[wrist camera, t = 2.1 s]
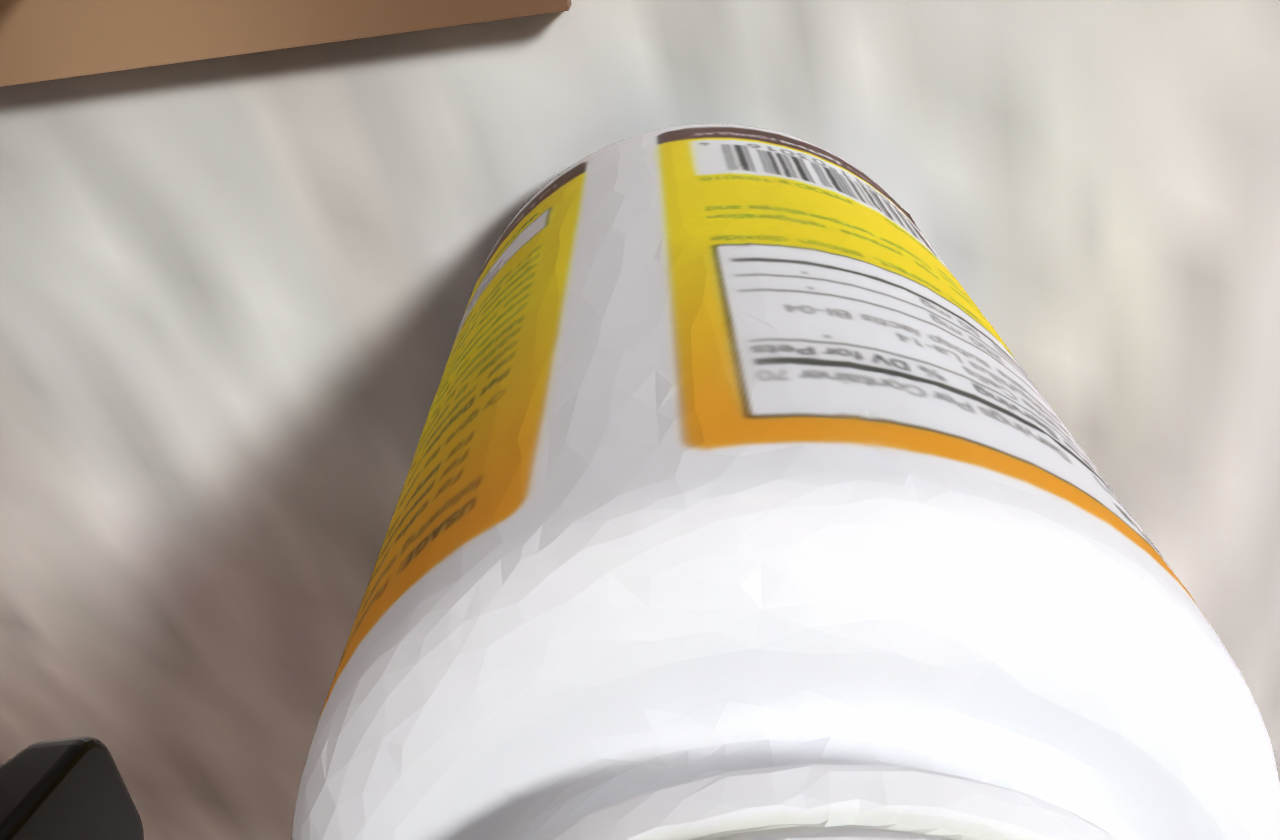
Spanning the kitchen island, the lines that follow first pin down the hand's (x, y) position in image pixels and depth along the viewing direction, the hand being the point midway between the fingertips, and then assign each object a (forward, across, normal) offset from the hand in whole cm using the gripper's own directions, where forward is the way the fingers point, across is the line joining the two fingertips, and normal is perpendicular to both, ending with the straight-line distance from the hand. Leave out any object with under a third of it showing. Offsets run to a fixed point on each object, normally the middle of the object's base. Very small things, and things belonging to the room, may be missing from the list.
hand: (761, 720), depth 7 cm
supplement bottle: (+7, 0, 0) cm, 7 cm away
